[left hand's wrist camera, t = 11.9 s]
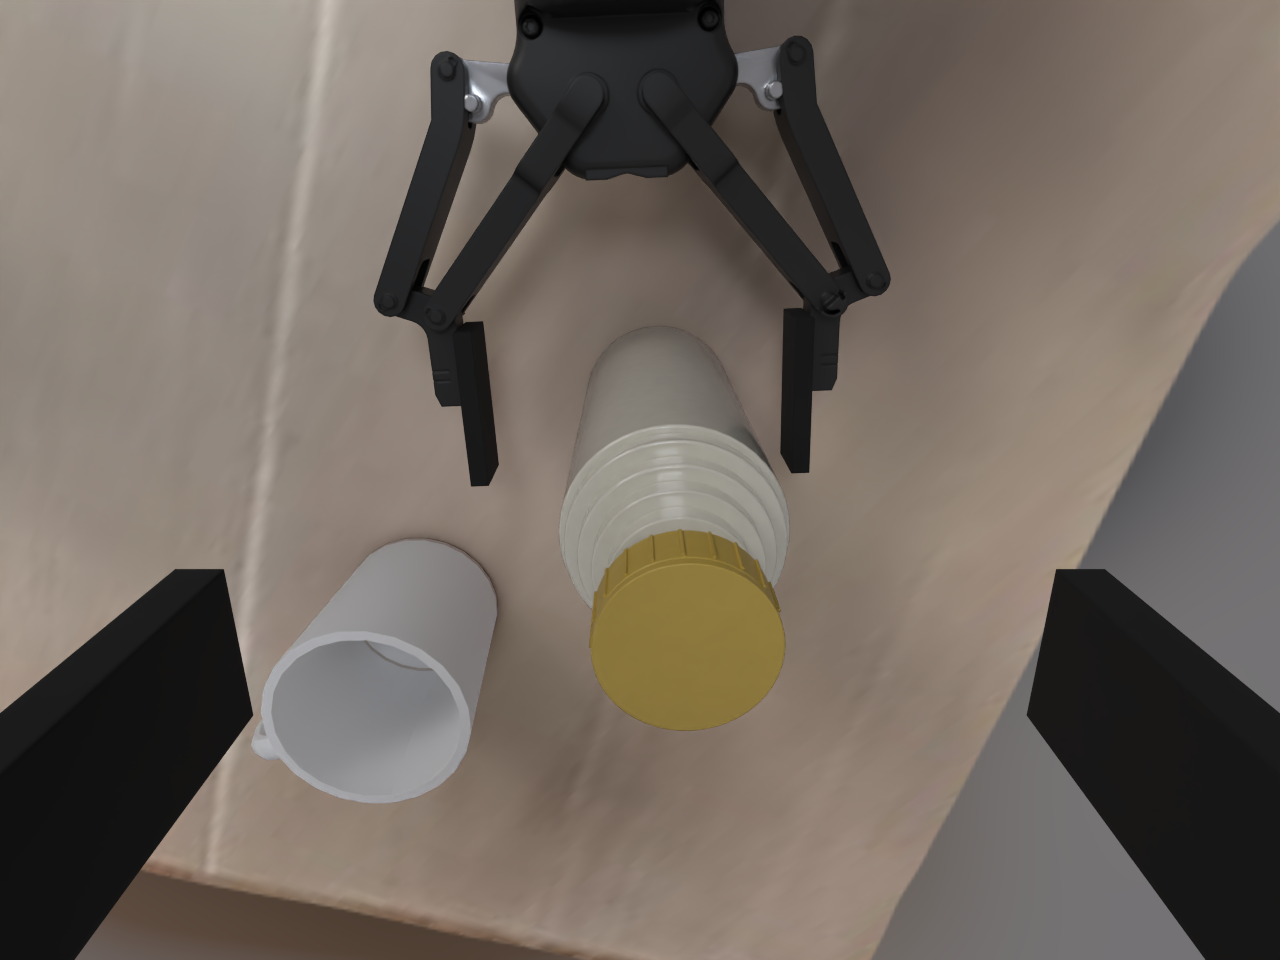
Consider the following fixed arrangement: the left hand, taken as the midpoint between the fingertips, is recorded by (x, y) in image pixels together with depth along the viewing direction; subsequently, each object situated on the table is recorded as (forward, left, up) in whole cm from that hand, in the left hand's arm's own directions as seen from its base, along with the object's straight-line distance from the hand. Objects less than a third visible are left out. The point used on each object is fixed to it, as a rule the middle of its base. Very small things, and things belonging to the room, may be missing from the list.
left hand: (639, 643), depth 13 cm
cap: (-2, -3, -5) cm, 6 cm away
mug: (-20, +2, -28) cm, 34 cm away
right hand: (-4, -3, -22) cm, 22 cm away
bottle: (-2, -3, -28) cm, 28 cm away
